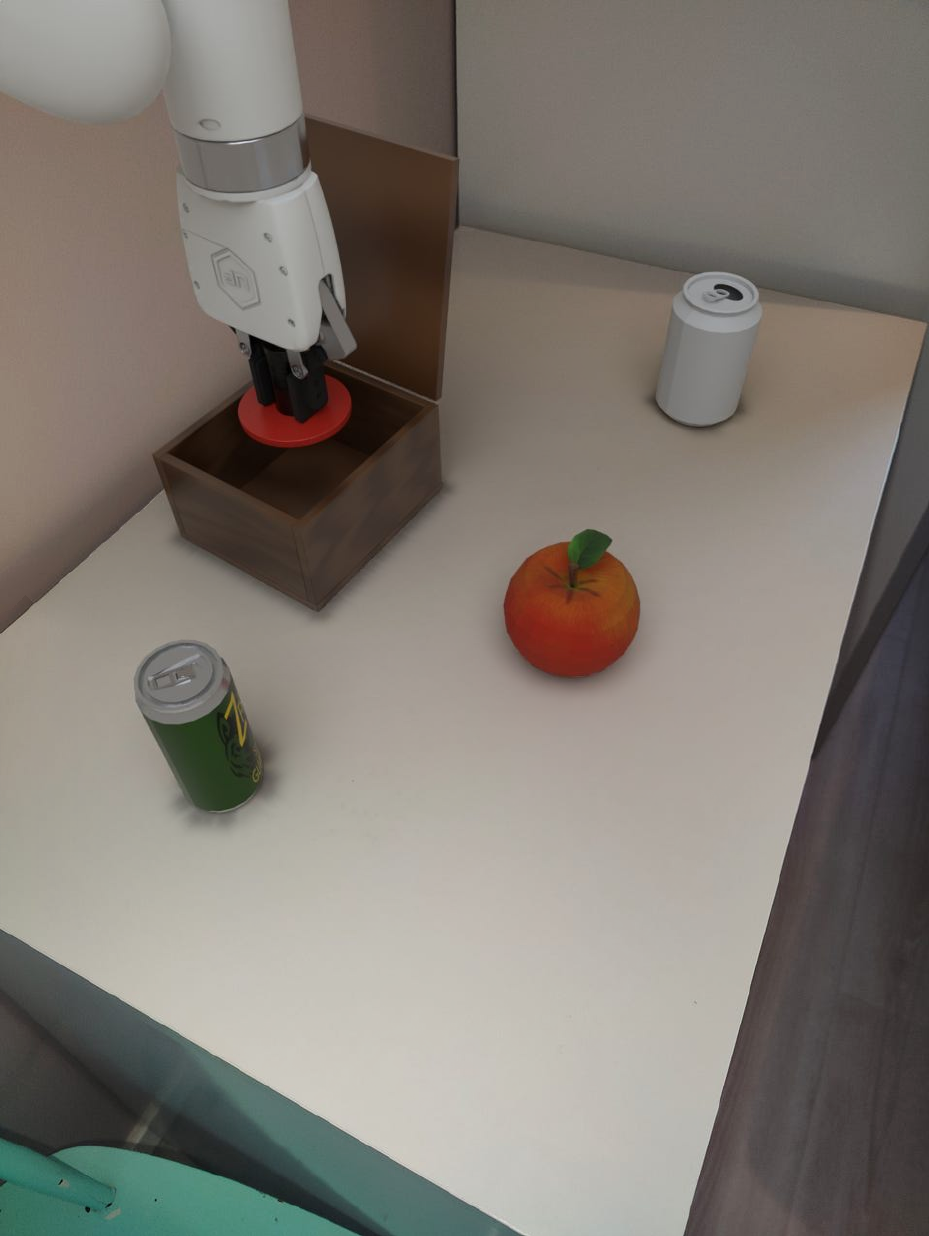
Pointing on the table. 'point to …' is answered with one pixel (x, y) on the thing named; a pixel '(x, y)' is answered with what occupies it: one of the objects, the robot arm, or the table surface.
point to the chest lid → (390, 248)
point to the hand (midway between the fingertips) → (293, 401)
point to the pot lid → (278, 418)
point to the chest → (305, 488)
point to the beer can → (199, 724)
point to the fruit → (572, 607)
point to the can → (708, 348)
